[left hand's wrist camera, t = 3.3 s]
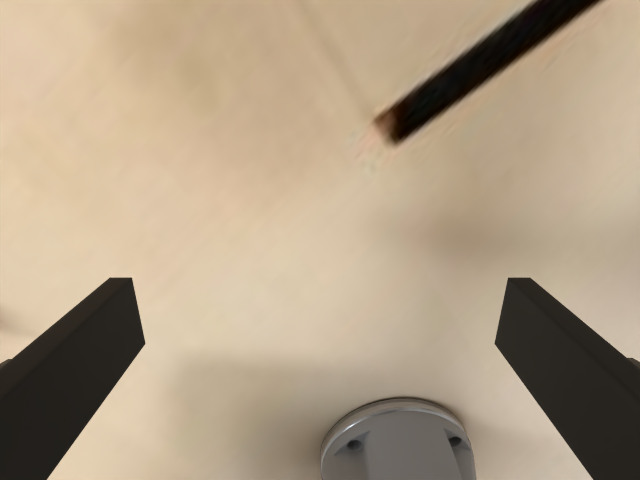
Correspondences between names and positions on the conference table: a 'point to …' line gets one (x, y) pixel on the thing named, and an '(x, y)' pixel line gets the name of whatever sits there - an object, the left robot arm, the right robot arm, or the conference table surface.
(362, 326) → the conference table surface
